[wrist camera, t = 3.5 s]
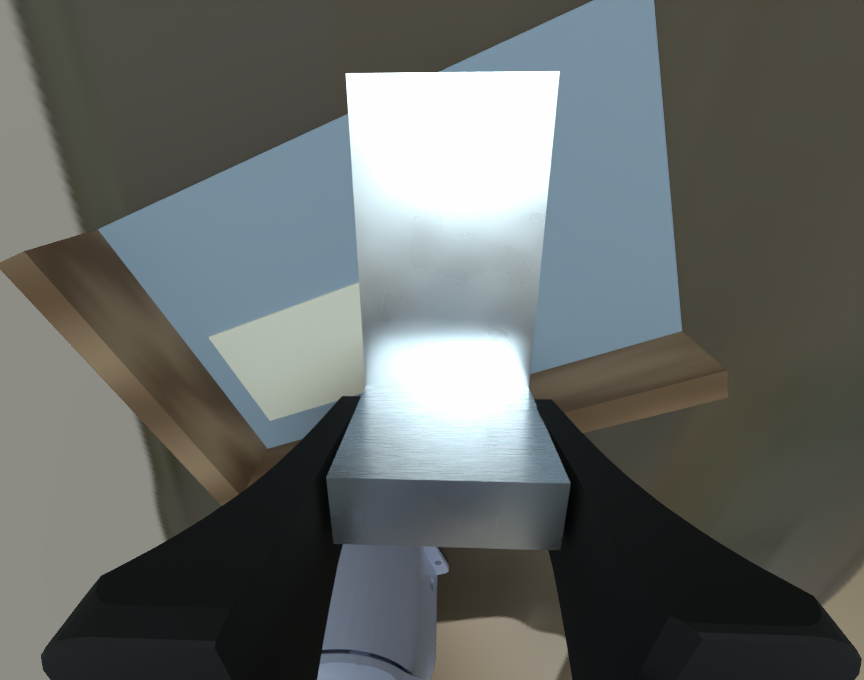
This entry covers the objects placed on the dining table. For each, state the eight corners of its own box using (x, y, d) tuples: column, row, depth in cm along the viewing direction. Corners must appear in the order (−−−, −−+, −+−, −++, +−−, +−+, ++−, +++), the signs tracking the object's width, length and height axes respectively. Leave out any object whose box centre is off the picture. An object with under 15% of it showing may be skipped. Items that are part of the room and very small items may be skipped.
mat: (679, 351, 21) (685, 356, 20) (263, 465, 26) (259, 472, 25) (646, -23, 14) (653, -29, 13) (80, 238, 19) (70, 241, 18)
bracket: (515, 410, 14) (560, 550, 8) (378, 407, 14) (333, 543, 9) (541, 91, 11) (648, -29, 5) (361, 92, 11) (270, -22, 5)
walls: (679, 351, 21) (728, 397, 17) (263, 465, 26) (234, 519, 22) (646, -23, 14) (716, -75, 10) (80, 238, 19) (-5, 264, 15)
